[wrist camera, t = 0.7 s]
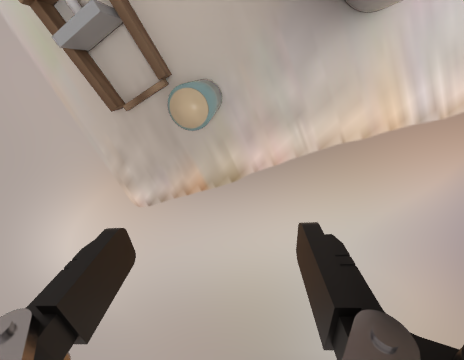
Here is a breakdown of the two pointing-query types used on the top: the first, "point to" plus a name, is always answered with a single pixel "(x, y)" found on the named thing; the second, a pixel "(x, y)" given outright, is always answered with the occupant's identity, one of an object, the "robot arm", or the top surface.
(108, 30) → the pusher
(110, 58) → the top surface
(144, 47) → the brown rectangular open frame
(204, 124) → the jar
